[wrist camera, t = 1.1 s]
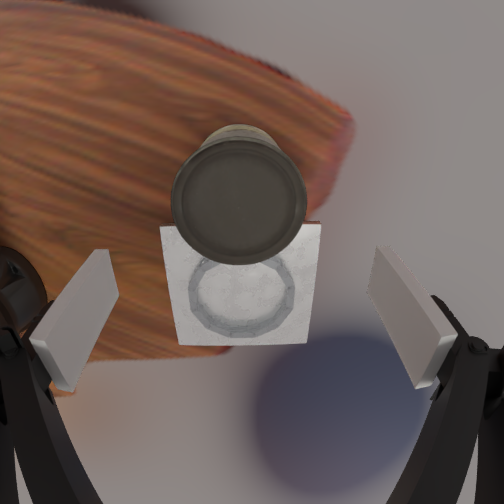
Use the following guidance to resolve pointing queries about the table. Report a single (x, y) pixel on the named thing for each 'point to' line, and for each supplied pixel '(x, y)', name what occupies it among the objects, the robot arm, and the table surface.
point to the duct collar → (242, 292)
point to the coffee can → (238, 197)
